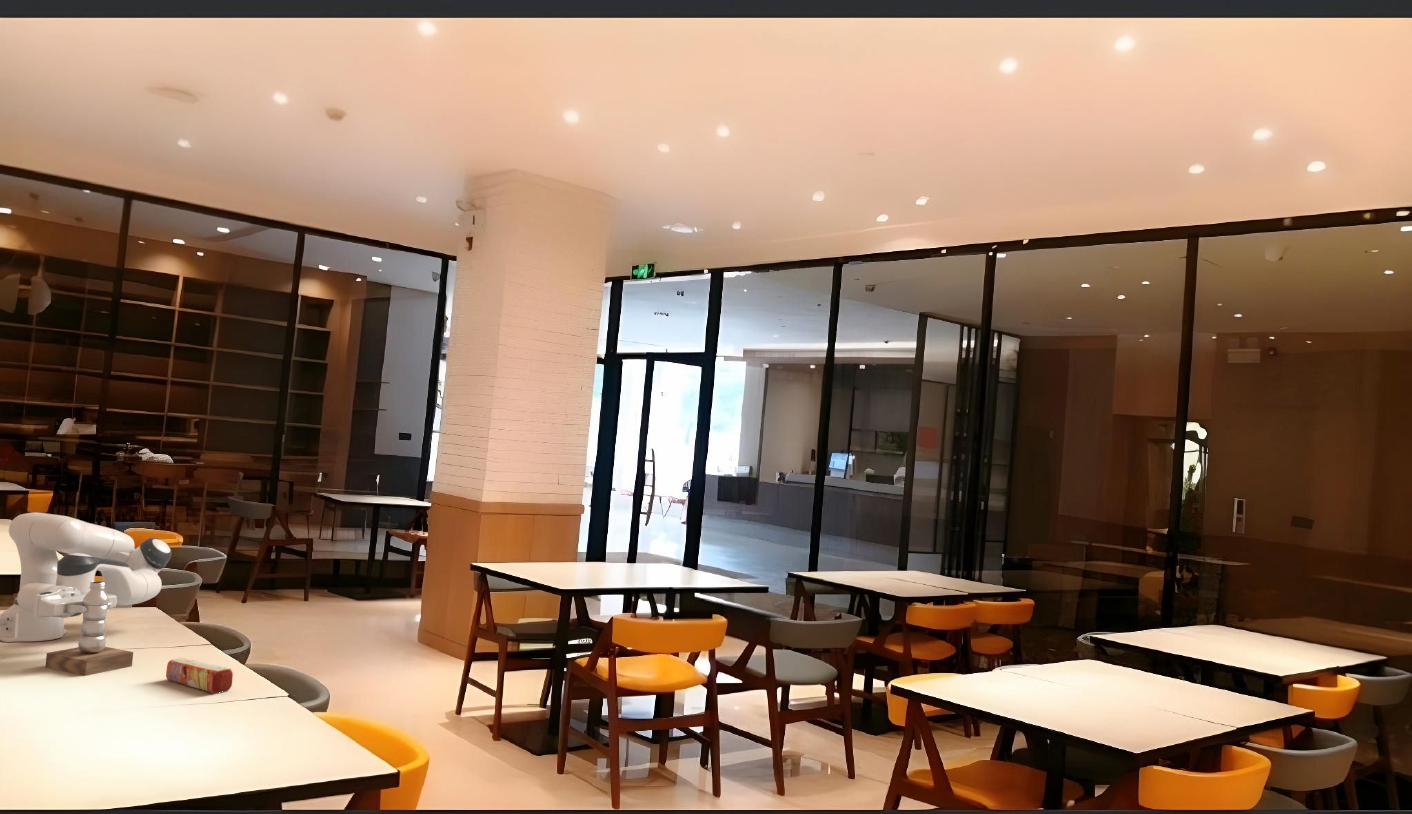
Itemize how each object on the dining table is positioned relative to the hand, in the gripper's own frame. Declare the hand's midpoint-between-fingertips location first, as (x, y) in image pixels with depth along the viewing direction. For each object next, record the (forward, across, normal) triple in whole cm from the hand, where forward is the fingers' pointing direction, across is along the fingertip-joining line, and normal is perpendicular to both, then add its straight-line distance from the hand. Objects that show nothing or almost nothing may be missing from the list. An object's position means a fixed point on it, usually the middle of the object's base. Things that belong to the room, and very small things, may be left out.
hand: (97, 607), depth 268 cm
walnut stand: (-1, 0, -17) cm, 17 cm away
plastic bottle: (-1, 0, -13) cm, 13 cm away
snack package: (+38, -2, -17) cm, 42 cm away
